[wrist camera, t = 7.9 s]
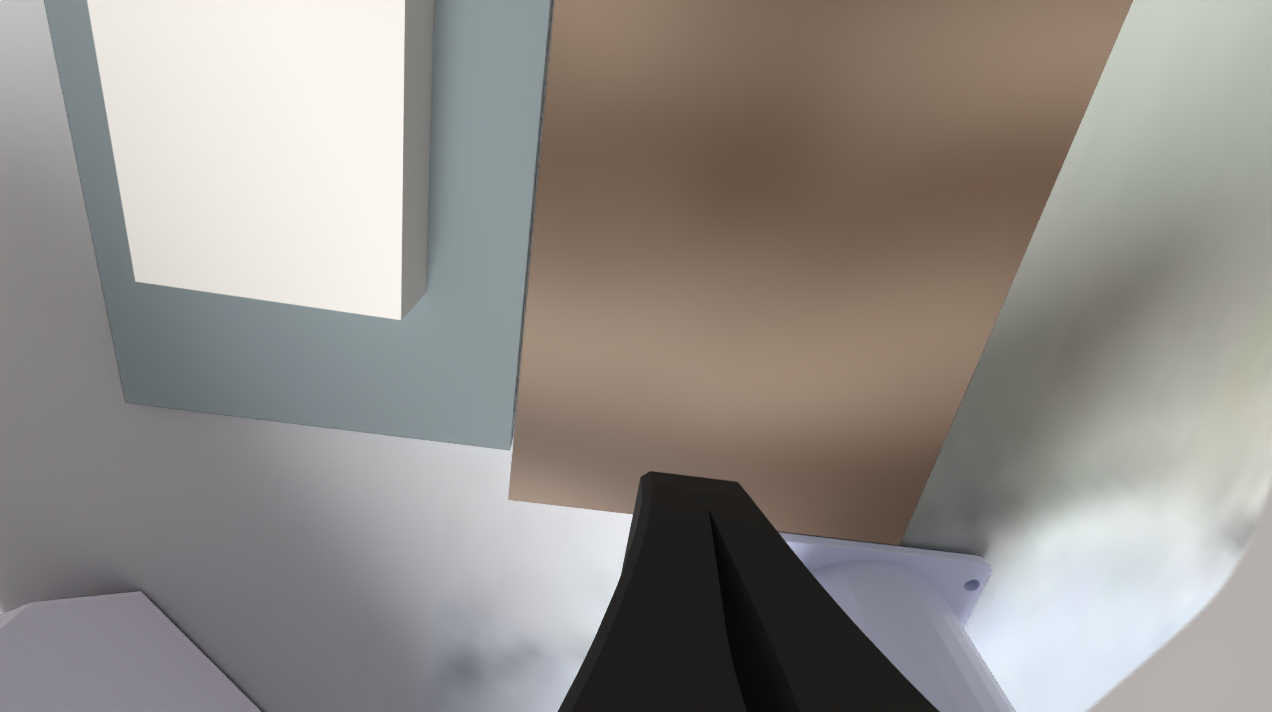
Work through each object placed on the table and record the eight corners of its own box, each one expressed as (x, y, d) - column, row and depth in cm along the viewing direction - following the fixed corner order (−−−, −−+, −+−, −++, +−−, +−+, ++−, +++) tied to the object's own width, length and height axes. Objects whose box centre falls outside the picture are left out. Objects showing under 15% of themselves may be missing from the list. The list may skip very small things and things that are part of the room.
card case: (135, 281, 14) (192, 258, 16) (401, 319, 14) (425, 293, 16) (49, -219, 10) (135, -174, 12) (406, -144, 11) (437, -111, 13)
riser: (846, 457, 19) (899, 545, 16) (531, 417, 18) (508, 499, 15) (1072, -174, 13) (1251, -278, 9) (604, -281, 12) (595, -443, 8)
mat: (511, 443, 19) (509, 450, 18) (135, 396, 18) (125, 402, 17) (585, -357, 12) (583, -371, 11) (-40, -505, 11) (-63, -526, 10)
